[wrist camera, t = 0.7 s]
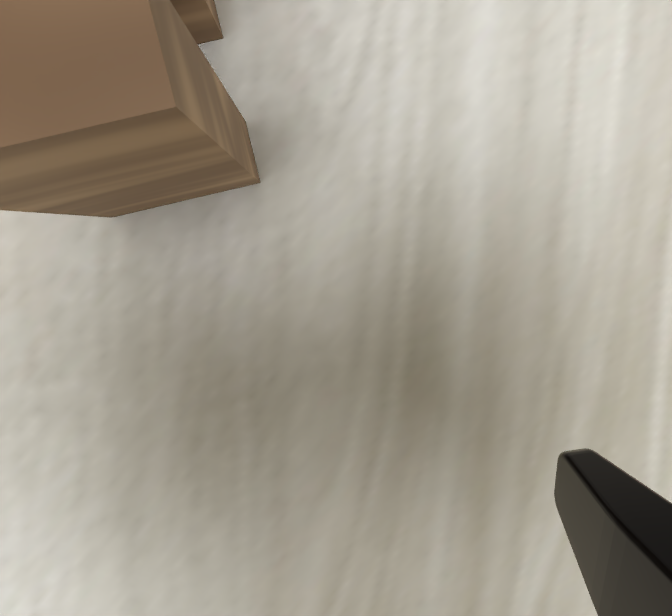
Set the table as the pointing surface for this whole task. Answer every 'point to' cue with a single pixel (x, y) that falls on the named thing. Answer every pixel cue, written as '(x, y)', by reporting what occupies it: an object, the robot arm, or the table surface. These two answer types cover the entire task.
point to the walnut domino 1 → (111, 110)
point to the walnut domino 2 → (199, 19)
